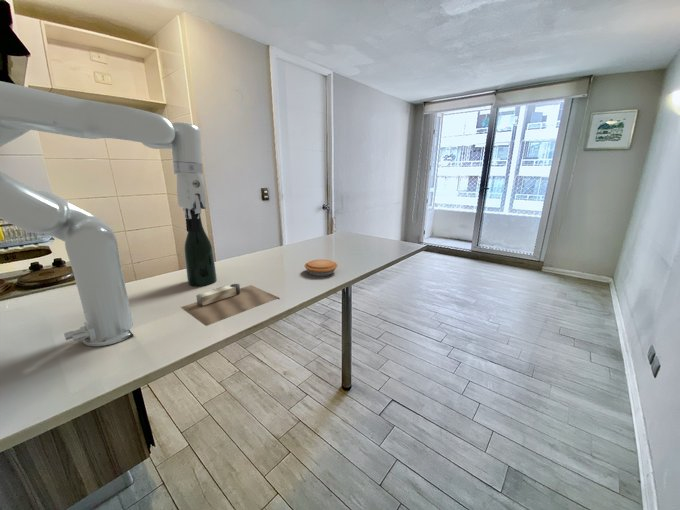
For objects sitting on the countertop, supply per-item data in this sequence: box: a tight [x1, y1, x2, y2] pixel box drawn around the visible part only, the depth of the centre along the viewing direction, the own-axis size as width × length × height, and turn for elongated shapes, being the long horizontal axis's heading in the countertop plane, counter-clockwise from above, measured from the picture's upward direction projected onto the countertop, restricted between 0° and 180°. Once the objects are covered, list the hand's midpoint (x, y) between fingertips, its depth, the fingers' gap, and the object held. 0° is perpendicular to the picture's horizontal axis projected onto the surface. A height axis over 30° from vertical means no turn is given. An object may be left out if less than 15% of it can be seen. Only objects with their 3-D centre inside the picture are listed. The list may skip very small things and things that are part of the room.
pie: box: [304, 259, 339, 277], centre depth 130 cm, size 15×16×5 cm
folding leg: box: [195, 283, 241, 306], centre depth 97 cm, size 15×3×3 cm, turn 140°
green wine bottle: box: [183, 214, 218, 288], centre depth 109 cm, size 10×10×33 cm
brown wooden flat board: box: [180, 284, 280, 327], centre depth 95 cm, size 26×18×4 cm
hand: (193, 231), depth 86 cm, fingers closed
